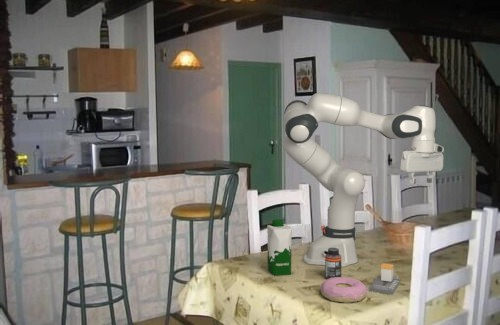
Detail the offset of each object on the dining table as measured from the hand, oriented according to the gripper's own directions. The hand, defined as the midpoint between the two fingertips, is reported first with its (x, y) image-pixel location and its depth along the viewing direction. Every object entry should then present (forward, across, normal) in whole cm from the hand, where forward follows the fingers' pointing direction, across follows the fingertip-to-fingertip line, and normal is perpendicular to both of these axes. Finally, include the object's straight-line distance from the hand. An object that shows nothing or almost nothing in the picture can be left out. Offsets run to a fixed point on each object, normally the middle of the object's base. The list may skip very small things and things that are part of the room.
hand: (421, 183), depth 197 cm
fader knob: (+33, -23, -6) cm, 41 cm away
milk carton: (+35, -49, +24) cm, 65 cm away
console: (+35, -26, -8) cm, 44 cm away
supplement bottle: (+35, -36, +8) cm, 51 cm away
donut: (+36, -44, -8) cm, 58 cm away
